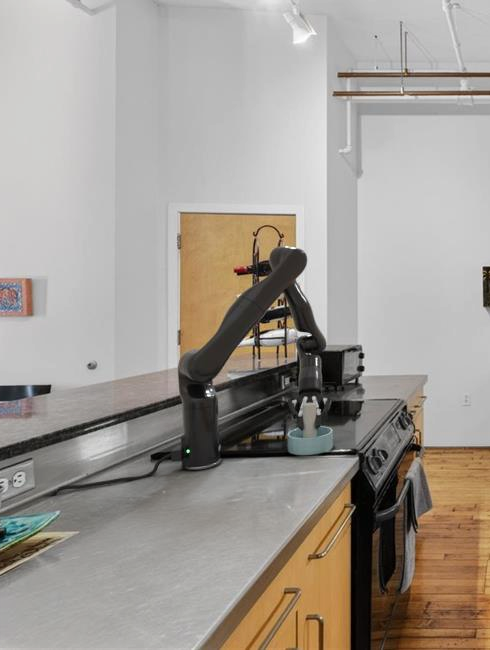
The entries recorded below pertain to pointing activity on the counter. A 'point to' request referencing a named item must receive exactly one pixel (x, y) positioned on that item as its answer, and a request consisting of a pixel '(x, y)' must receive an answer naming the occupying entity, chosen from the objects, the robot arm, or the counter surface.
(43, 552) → the counter surface
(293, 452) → the processor bowl
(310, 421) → the blade
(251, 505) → the counter surface
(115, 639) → the counter surface
